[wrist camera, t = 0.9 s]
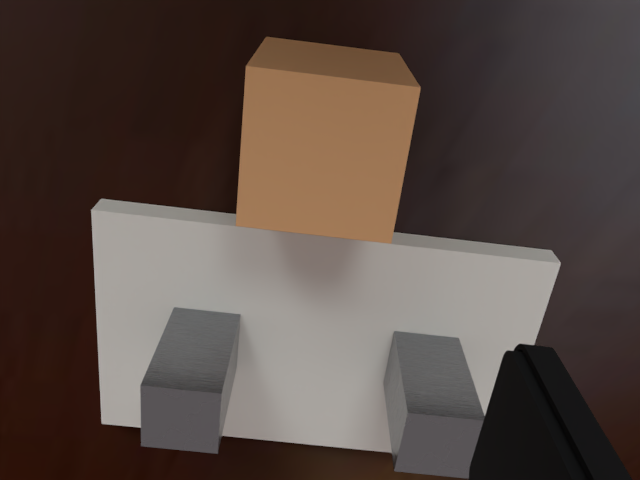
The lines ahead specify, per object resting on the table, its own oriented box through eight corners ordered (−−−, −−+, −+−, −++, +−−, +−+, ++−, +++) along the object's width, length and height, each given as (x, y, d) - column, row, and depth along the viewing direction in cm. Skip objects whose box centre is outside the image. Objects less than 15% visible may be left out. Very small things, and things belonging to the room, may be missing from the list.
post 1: (180, 292, 34) (140, 385, 27) (244, 299, 34) (221, 393, 27) (179, 345, 36) (141, 446, 29) (240, 351, 36) (217, 453, 29)
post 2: (391, 315, 35) (407, 413, 27) (453, 322, 35) (486, 421, 28) (381, 366, 36) (394, 471, 29) (440, 373, 36) (468, 478, 29)
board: (101, 198, 32) (91, 209, 30) (551, 250, 33) (561, 263, 31) (109, 406, 38) (101, 423, 37) (489, 445, 39) (494, 463, 37)
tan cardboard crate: (266, 36, 28) (245, 65, 21) (398, 53, 28) (420, 87, 22) (256, 163, 31) (235, 226, 24) (377, 178, 31) (391, 243, 24)
